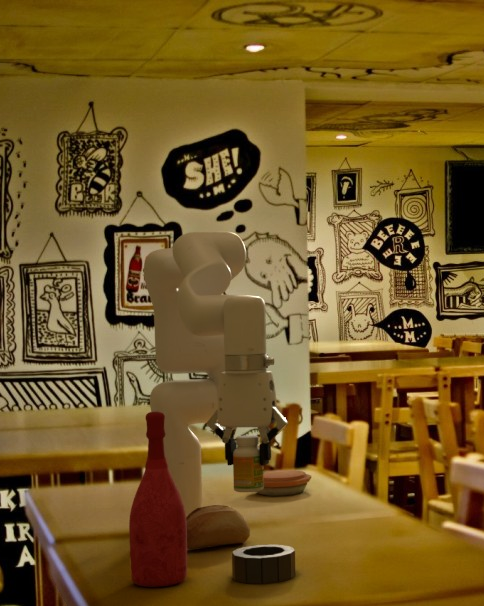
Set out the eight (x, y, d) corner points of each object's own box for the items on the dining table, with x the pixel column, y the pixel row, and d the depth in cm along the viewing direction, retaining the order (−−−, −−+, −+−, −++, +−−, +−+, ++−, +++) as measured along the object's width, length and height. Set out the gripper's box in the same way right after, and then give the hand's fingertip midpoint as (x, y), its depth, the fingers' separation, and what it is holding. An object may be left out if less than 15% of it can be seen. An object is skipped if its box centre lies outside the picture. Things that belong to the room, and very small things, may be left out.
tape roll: (224, 583, 216) (223, 557, 216) (245, 568, 227) (244, 544, 226) (284, 584, 214) (283, 558, 214) (302, 569, 225) (301, 545, 225)
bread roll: (168, 548, 245) (167, 508, 245) (234, 537, 255) (233, 498, 254) (192, 556, 238) (191, 514, 238) (259, 544, 247) (258, 504, 247)
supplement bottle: (257, 493, 221) (256, 438, 221) (229, 492, 222) (227, 438, 222) (268, 487, 226) (266, 434, 226) (240, 487, 228) (238, 434, 227)
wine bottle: (135, 576, 222) (131, 409, 222) (191, 574, 223) (186, 407, 222) (126, 590, 212) (121, 415, 212) (184, 587, 213) (180, 413, 213)
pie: (308, 497, 300) (307, 476, 300) (244, 498, 301) (243, 477, 300) (315, 486, 316) (314, 466, 316) (254, 487, 316) (254, 467, 316)
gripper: (297, 362, 226) (300, 461, 226) (208, 363, 229) (210, 461, 229) (285, 365, 219) (287, 468, 219) (193, 366, 222) (195, 467, 222)
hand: (248, 463), depth 224 cm, fingers closed on supplement bottle, 5 cm apart
